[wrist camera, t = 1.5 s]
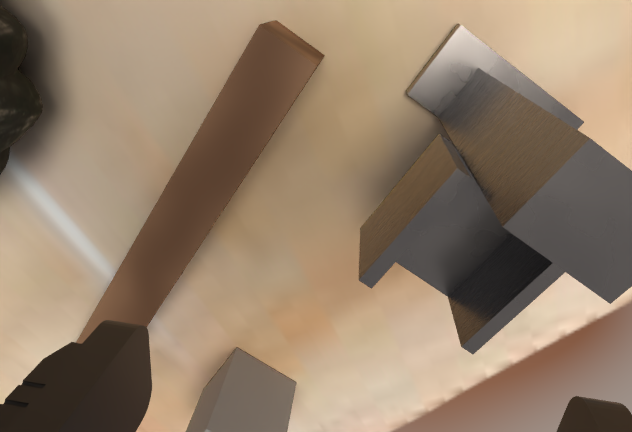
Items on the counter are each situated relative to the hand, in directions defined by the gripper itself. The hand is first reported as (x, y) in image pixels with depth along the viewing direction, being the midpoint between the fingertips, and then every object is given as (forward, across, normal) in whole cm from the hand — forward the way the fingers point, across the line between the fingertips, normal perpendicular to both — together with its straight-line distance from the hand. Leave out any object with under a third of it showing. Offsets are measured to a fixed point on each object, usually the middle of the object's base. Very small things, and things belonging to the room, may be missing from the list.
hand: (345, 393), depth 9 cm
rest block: (+19, +6, +19) cm, 28 cm away
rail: (+19, +11, +7) cm, 23 cm away
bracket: (+19, -5, 0) cm, 20 cm away
